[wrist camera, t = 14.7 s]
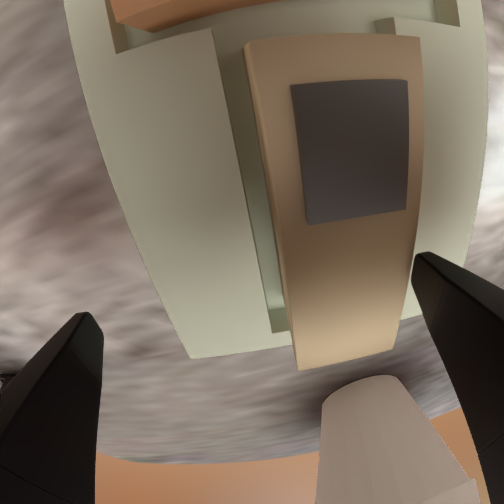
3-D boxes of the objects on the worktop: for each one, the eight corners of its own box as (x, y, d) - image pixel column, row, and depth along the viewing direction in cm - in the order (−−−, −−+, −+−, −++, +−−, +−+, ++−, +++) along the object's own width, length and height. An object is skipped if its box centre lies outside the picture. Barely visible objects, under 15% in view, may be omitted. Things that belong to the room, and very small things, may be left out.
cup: (433, 390, 24) (476, 509, 13) (320, 438, 27) (341, 557, 16) (421, 326, 18) (499, 514, 7) (258, 398, 21) (277, 579, 10)
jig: (430, 275, 15) (451, 305, 13) (193, 321, 16) (190, 359, 14) (416, -95, 4) (446, -109, 2) (83, -69, 5) (55, -88, 3)
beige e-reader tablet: (360, 280, 14) (395, 355, 10) (282, 295, 14) (299, 378, 10) (353, 39, 8) (426, 36, 4) (241, 48, 8) (250, 39, 5)
